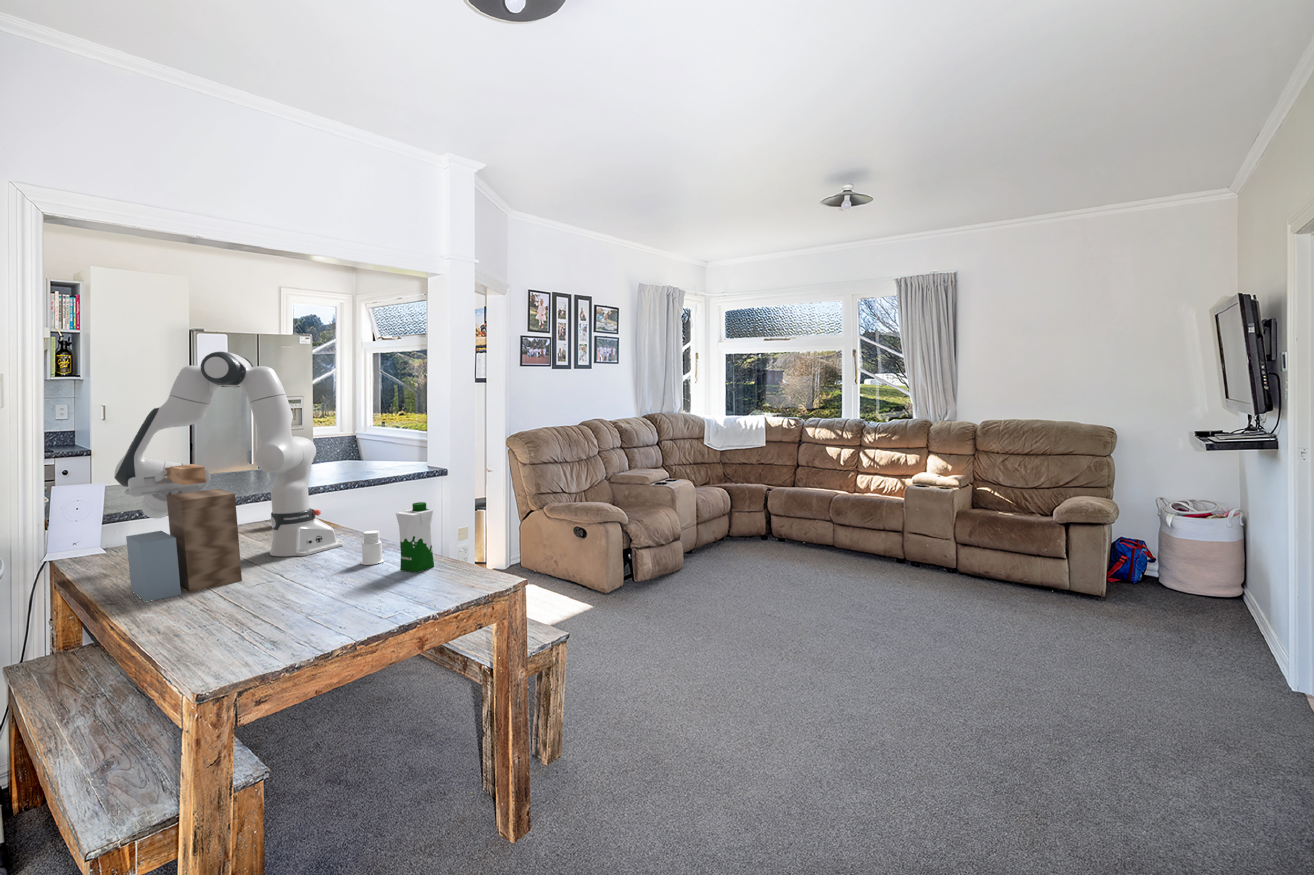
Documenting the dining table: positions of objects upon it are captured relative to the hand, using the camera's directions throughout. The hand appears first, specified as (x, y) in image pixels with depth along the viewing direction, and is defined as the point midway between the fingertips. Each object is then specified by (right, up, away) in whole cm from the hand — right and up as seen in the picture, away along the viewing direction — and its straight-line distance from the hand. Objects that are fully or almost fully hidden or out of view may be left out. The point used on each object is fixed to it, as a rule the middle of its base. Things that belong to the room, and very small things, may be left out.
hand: (175, 471), depth 194 cm
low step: (+4, -33, -12) cm, 36 cm away
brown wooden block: (+6, -2, -4) cm, 7 cm away
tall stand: (+12, -32, -3) cm, 34 cm away
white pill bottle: (+52, -30, +15) cm, 62 cm away
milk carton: (+69, -31, +7) cm, 76 cm away
